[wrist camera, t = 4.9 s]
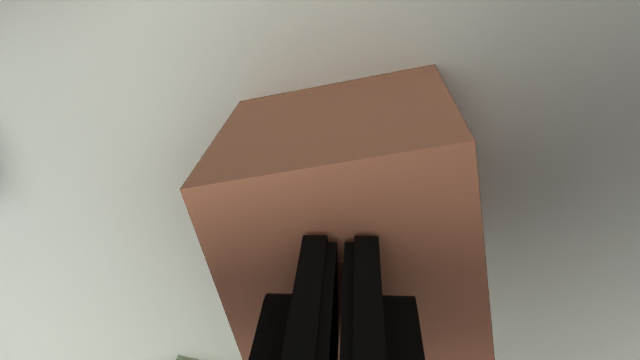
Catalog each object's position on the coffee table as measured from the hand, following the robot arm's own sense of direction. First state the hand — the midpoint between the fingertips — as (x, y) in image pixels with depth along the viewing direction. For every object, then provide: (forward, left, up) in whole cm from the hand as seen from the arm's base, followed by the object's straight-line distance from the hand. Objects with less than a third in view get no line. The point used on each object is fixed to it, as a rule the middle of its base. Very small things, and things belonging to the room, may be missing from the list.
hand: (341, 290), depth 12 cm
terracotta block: (0, 0, -6) cm, 6 cm away
